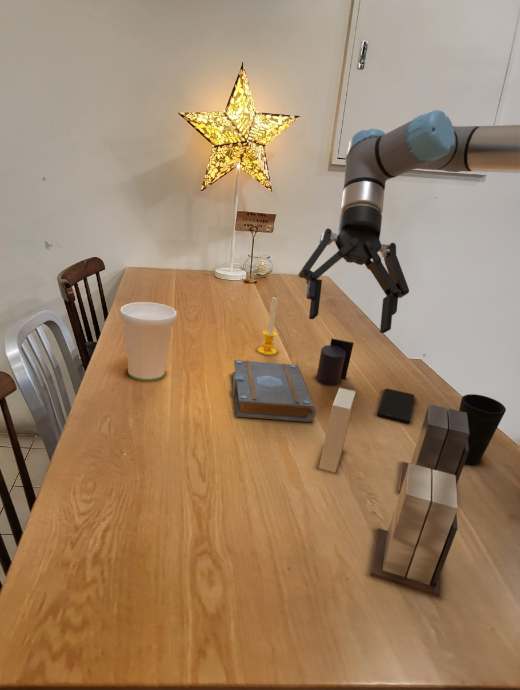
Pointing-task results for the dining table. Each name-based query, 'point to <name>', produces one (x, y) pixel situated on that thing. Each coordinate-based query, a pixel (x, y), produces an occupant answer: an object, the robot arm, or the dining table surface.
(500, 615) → the dining table surface
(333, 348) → the speaker
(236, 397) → the book
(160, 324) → the cup
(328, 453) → the beige rectangular block
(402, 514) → the white books
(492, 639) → the dining table surface
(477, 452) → the cup
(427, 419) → the grey books
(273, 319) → the candle
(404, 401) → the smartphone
